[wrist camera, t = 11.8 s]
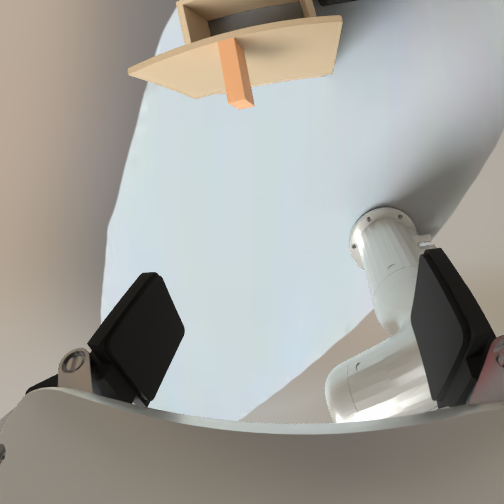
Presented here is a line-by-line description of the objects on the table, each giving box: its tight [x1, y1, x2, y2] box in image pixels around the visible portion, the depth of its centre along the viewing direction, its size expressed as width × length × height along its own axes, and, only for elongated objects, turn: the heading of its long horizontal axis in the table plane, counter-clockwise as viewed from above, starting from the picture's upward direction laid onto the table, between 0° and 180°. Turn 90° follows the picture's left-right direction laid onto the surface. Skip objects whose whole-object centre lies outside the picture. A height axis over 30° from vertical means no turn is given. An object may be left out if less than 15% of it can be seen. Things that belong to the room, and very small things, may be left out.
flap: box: [128, 15, 343, 109], centre depth 22 cm, size 16×14×6 cm
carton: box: [176, 0, 325, 94], centre depth 29 cm, size 16×14×10 cm
